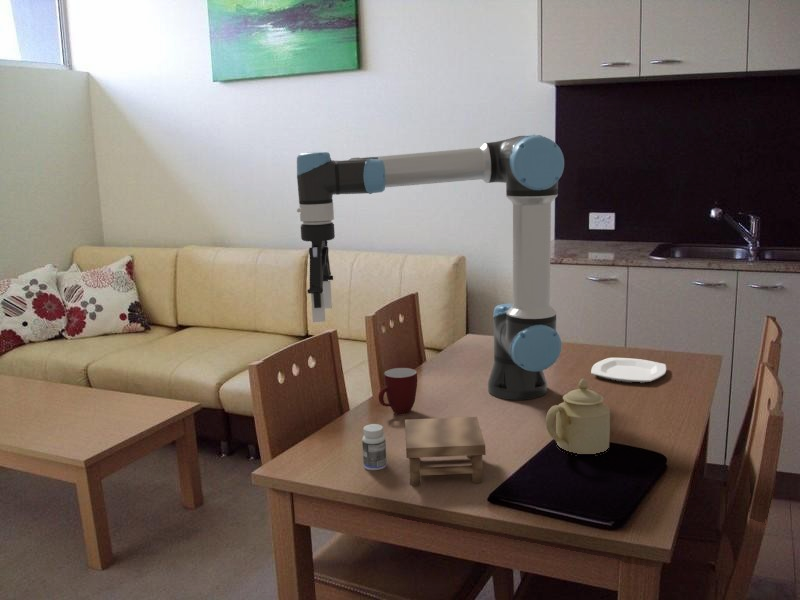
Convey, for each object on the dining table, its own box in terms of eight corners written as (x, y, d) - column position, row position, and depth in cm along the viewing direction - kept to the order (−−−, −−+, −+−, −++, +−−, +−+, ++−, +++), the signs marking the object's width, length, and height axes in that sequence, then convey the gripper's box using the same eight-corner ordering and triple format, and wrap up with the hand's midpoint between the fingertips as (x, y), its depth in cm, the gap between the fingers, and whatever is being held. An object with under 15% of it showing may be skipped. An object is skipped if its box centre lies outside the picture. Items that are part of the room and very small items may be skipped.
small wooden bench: (477, 452, 161) (476, 416, 159) (486, 484, 146) (485, 444, 144) (406, 455, 161) (404, 419, 159) (407, 487, 146) (406, 448, 144)
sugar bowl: (598, 467, 151) (599, 395, 148) (543, 458, 156) (543, 389, 153) (614, 440, 164) (615, 373, 161) (564, 433, 169) (564, 368, 166)
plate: (673, 369, 211) (673, 363, 211) (655, 390, 195) (655, 383, 195) (605, 361, 221) (605, 354, 221) (582, 380, 205) (582, 373, 205)
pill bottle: (363, 462, 158) (361, 423, 157) (385, 460, 159) (384, 422, 157) (364, 471, 154) (361, 432, 152) (387, 470, 154) (385, 430, 152)
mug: (394, 423, 179) (393, 382, 177) (371, 415, 185) (369, 376, 183) (425, 410, 186) (423, 371, 184) (401, 403, 192) (400, 365, 190)
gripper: (307, 217, 183) (313, 303, 188) (291, 229, 159) (298, 328, 163) (339, 216, 183) (343, 302, 188) (327, 228, 159) (333, 327, 163)
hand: (322, 314), depth 176 cm, fingers open, 13 cm apart
